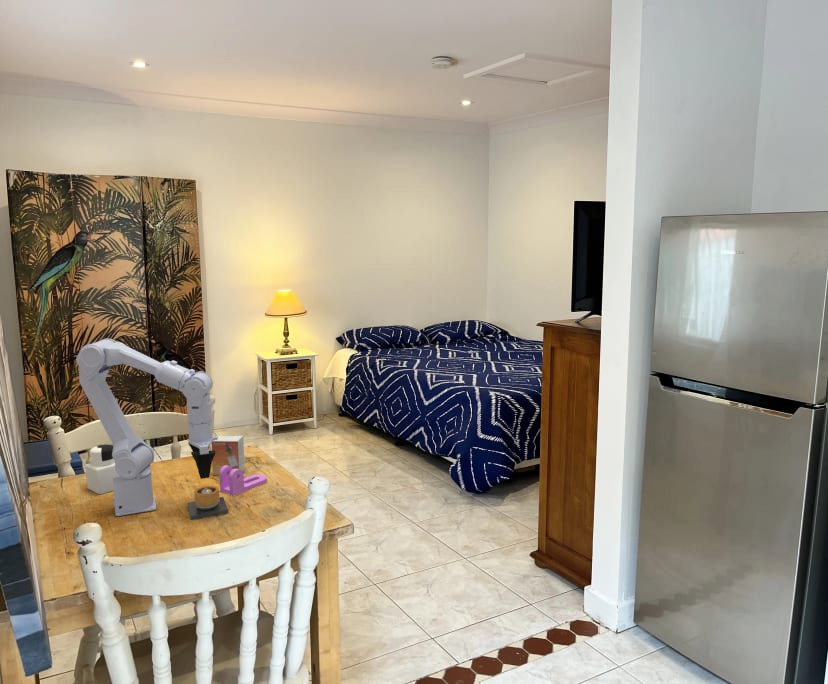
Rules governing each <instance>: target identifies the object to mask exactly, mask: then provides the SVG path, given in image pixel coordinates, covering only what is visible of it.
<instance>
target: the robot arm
mask: <svg viewBox="0 0 828 684" xmlns="http://www.w3.org/2000/svg"><path fill="white" fill-rule="evenodd" d="M75 361H76V363H77V365H78V374H79V376H78V377H79V379H78V380H79V384H80V386H81V388H82V390H83V392H84V394H85V395H86V397H87V399H88V401H89V402H90V404H91V406H92V408H93V410H94V412H95V414H96V415H97V417H98V419H99V421H100V423H101V425H102V427H103V428H104V431H105V432H106V434H107V435H108V437H109V439H110V441H111V443H112V446H113V452H112V457H113V459H114V461H115V469H116V472H117V473H118V475H119V476H118V477H114V478H113V491H112V492H113V499H112V501H113V503H112V505H113V507H114V511H115V512H114V513H115V516H116V517H120V516H121V517H122V516H126V515H133V514H139V513H140V514H141V513H145V512H151V511H156V510H157V506H156V505H157V504H156V498H155V497H154V491H153V488H154V487H153V478H152V469H151V464H152V463H153V461H154V459H155V454H154V450H153V449H152V448H151V446H149V444H147V443H146V442H145V441H144V439H143V437H141V436H139V435H136V434H135V433H134V431H133V429H132V427H131V425H130V423H129V421H128V420H127V418H126V415H125V414H124V413H123V410H122V409H121V407H120V405H119V403H118V401H117V399H116V397H115V396H114V393H113V392H112V390H111V388H110V387H109V384H108V383H107V381H106V379H107V375H108V374H109V371H110V369H111V367H113V366H117V365H126V366H129V367H131V368H134V369H138V370H140V371H143V372H145V373H147V374H149V375H150V374H151V375H153V376H154V377H155V380H156V382H158V383H160V384H162V385H165V386H167V387H169V388H172V389H174V390H177V391H179V392H181V393H182V394H183V396H184V397H185V398H186V411H187V426H188V440H187V441H188V446H189V447H190V449H191V452H190V453H191V457H192V459H194V462H195V465H196V469H197V472H198V475H199V478H200V479H201V480H202V479H203V480H204V479H209V478H210V475H211V469H212V460H213V458H214V456H215V453H216V452H215V450H212V449H211V450H209V448H210V446H211V443H212V442H213V441H214V440H217V439H218V436H219V435H217V434H216V435H214V433H213V421H212V420H213V419H212V417H213V415H212V403H211V402H212V401H211V392H210V391H211V390H212V388H213V384H214V382H213V379H212V377H211V376H210V375H209V374H208V373H206V372H205V371H201V370H200V371H196V370H195V369H193V368H191V369H189V368H186V367H185V366H181V365H180V364H178V361H176V360H171V361H170V360H165V361H163V362H160V361H159V360H156V359H154V358H151V357H150V356H147V355H146V354H143V352H142V353H141V352H139V351H137V350H135V349H133V348H131V347H129V346H127V345H126V344H124V343H123V342H120V341H117V340H115V339H112V338H103V339H100V340H98V341H96V342H93V343H88V344H85V345H84V346H82V347H81V348H80V350H79V352H78V354H77V356H76V359H75Z"/></svg>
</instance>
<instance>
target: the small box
mask: <svg viewBox="0 0 828 684" xmlns="http://www.w3.org/2000/svg"><path fill="white" fill-rule="evenodd" d="M217 436H218V439H217V440H214V441H213V442H212V443H211V444H210V446H211V451H212V450H215V452H216V453H215V456H214V458H213V460H212V464H211V469H212V476H219V472H220V469H221V468H222V467H223V466H225V465H227V466H230V467H232V468H233V469H239V470H242V471H243V472H244V470H245V468H246V467H245V443H244V441H245V440H244V435H217ZM226 473H227V472H226Z"/></svg>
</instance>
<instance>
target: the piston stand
mask: <svg viewBox="0 0 828 684" xmlns="http://www.w3.org/2000/svg"><path fill="white" fill-rule="evenodd" d="M208 493H212V490H210V489H204V490H202V491H201V493H200V494H208ZM219 500H220V501H219V502H218V503H217V504H214V505H212V506H198V505H196V504H195V500H194V501H190V502H187V503H186V504H187V510H188V513H189V514H188V515H189V517H190V520H191V521H193V520H199V519H204V518H210V516H211V517H216V515H217V516H223V515H227V513H228V514H229V508H228V506H227V503H226V501H225V499H224V496H219ZM222 514H223V515H222Z"/></svg>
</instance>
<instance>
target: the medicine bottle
mask: <svg viewBox="0 0 828 684" xmlns="http://www.w3.org/2000/svg"><path fill="white" fill-rule="evenodd" d="M113 446H114V445H113V444H100V445H95V446H93V447H92V448H91V449H90V452H89V453H90V463H87V464H85V467H84V468H85V478H86V487H87V490H90V491H91V492H93V493H96V494H97V495H104V494H106V493H109V492H113V478H114V477H118V476H119V475H118V473H117V472H116V469H115V461H114V459H113V457H112V452H113Z"/></svg>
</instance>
